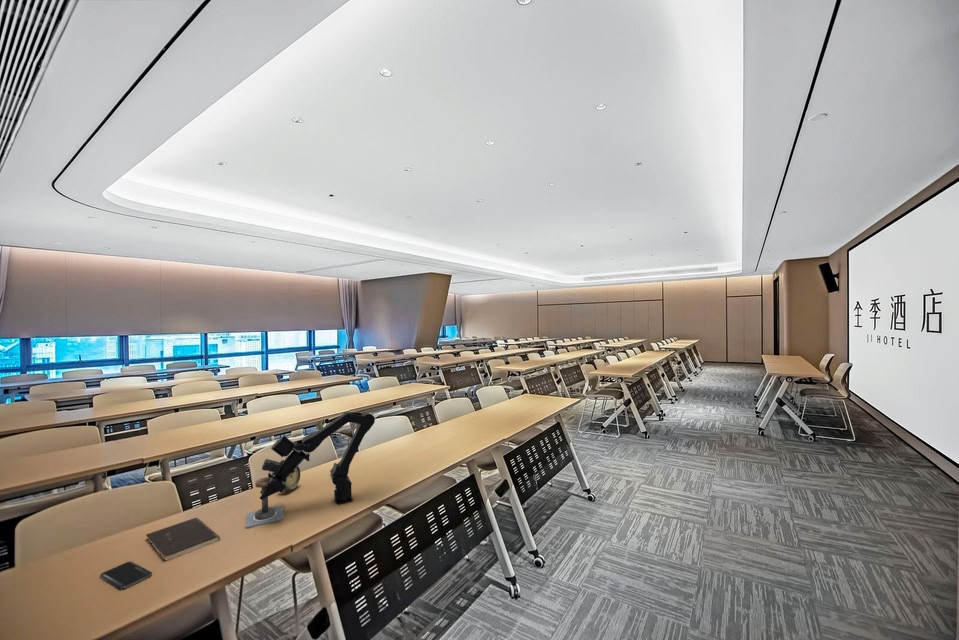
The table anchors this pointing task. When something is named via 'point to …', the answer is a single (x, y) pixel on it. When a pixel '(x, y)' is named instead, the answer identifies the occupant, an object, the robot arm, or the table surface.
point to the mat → (254, 522)
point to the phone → (126, 575)
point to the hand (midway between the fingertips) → (260, 496)
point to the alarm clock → (292, 480)
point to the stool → (264, 501)
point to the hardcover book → (182, 538)
